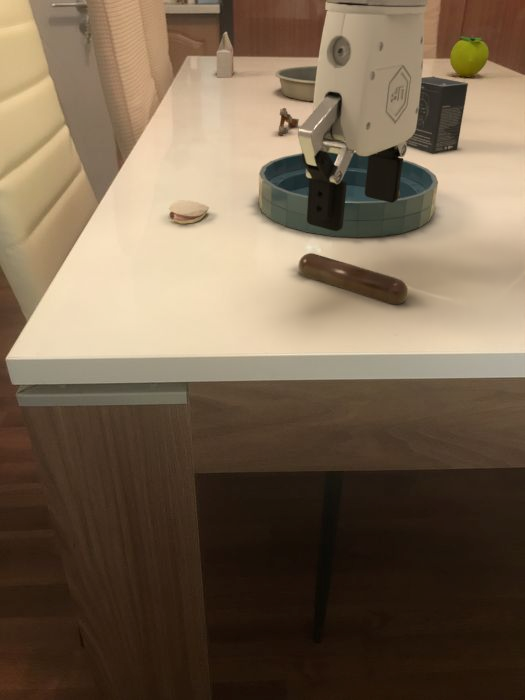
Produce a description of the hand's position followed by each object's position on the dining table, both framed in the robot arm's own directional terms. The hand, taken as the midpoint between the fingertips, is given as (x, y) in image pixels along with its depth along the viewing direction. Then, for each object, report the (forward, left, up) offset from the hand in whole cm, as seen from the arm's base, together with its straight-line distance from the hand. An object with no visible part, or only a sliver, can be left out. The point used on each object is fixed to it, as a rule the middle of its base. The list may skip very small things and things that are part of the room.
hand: (354, 212), depth 56 cm
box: (+17, -54, -8) cm, 57 cm away
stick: (0, 0, -8) cm, 8 cm away
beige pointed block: (+91, -90, -8) cm, 128 cm away
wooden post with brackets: (+41, -48, -8) cm, 64 cm away
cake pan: (+56, -85, -8) cm, 102 cm away
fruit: (+42, -132, -8) cm, 139 cm away
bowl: (+12, -19, -8) cm, 24 cm away
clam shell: (+24, -4, -8) cm, 25 cm away
